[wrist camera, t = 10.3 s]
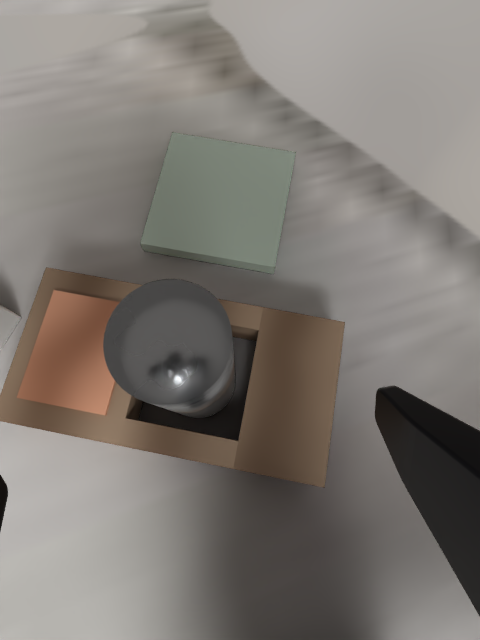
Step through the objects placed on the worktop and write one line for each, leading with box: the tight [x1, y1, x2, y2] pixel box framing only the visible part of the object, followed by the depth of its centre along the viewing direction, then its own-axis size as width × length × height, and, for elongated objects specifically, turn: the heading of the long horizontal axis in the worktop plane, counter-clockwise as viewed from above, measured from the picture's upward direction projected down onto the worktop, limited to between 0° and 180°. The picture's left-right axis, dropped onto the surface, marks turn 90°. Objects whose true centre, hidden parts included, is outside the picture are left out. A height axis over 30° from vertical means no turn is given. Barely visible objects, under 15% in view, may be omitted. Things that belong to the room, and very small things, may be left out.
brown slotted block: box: [0, 267, 345, 488], centre depth 21 cm, size 16×8×3 cm, turn 79°
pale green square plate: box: [140, 132, 296, 274], centre depth 24 cm, size 8×8×1 cm
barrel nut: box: [103, 279, 236, 418], centre depth 17 cm, size 4×4×10 cm
